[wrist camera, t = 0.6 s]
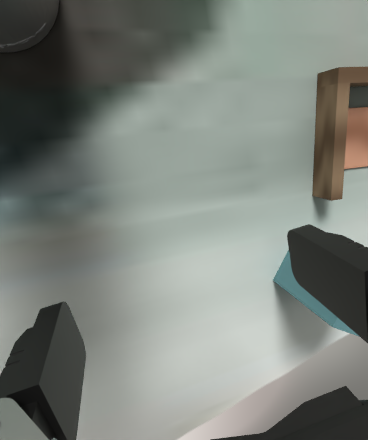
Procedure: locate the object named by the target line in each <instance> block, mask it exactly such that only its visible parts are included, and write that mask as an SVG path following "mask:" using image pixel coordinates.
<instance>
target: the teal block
mask: <svg viewBox="0 0 368 440" xmlns="http://www.w3.org/2000/svg"><path fill="white" fill-rule="evenodd" d="M273 281H275V282H276V283H277V284H278V285H280V286H281V287H282V288H283V289H285V290H286V291H287V292H289V293H290V294H291V295H292V296H294V297H295V298H296V299H297V300H299V301H300V302H301V303H303V304H304V305H305V306H306V307H308V308H309V309H310V310H311V311H313V312H314V313H315V314H316V315H318V316H319V317H320V318H322V319H323V320H324V321H325V322H327V323H328V324H329V325H330V326H332V327H334V328H337V329H339V330H342V331H345V332H348V333H351V334H354V335H357V334H356V333H355V332H354V331H353V330H352V329H350V328H349V327H348V326H347V325H346V324H345V323H343V322H342V321H341V320H340V319H339V318H338V317H336V316H335V315H334V314H333V313H332V312H331V311H329V310H328V309H327V308H326V307H325V306H323V305H322V304H321V303H320V302H319V301H318V300H316V299H315V298H314V297H313V296H312V295H311V294H309V293H308V292H307V291H306V290H305V289H304V288H302V287H301V286H300V285H299V284H298V283H297V281H296V279H295V278H294V275H293V272H292V268H291V261H290V253H289V250H288V252H287V254H286V256H285V258H284V260H283V262H282V264H281V266H280V268H279V270H278V272H277V273H276V275H275V277H274V279H273ZM357 336H359V335H357Z"/></svg>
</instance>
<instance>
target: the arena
mask: <svg viewBox="0 0 368 440" xmlns="http://www.w3.org/2000/svg"><path fill="white" fill-rule="evenodd" d="M357 86H368V67H339V68H335V69H332V70H328V71H325V72H321V73H318V81H317V104H316V128H315V151H314V174H313V196H316V197H320V198H323V199H327V200H338V199H342V193H343V179H344V169H348V168H357V167H365V166H368V107H360V108H348V106H349V92H350V87H357Z"/></svg>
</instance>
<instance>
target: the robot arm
mask: <svg viewBox="0 0 368 440" xmlns="http://www.w3.org/2000/svg"><path fill="white" fill-rule="evenodd" d="M58 8H59V0H0V52H2V53H3V52H18V51H22V50H25V49H29V48H30V47H32V46H34V45H36V44H38V43H39V42H40V41H41V40H42V39H43V38H44V37H45V36H46V35H48V33H49V31H50V30H51V28H52V27H53V25H54V23H55V20H56V17H57V14H58ZM287 238H288V246H289V253H290V261H291V268H292V272H293V275H294V278H295V279H296V281H297V283H298V284H299V285H300V286H301V287H302V288H304V289H305V290H306V291H307V292H308V293H309V294H311V295H312V296H313V297H314V298H315V299H316V300H318V301H319V302H320V303H321V304H322V305H323V306H325V307H326V308H327V309H328V310H329V311H331V312H332V313H333V314H334V315H335V316H336V317H338V318H339V319H340V320H341V321H342V322H343V323H345V324H346V325H347V326H348V327H349V328H350V329H352V330H353V331H354V332H355V333H356V334H357V335H359V336H360V337H361V338H362V339H363V340H365V341H366V342H367V343H368V247H364V245H361V244H359V243H357V242H354V241H353V240H351V239H349V238H347V237H345V236H343V235H338V234H333V233H328V232H327V233H326V232H324V231H322V230H320V229H318V228H316V227H314V226H312V225H310V224H308V225H305V226H302V227H299V228H296V229H292V230H290V231H289V232H288V235H287ZM85 360H86V353H85V346H84V342H83V339H82V337H81V335H80V332H79V330H78V327H77V325H76V323H75V320H74V318H73V316H72V313H71V311H70V308H69V306H68V305H67V303H66V302H61V303H58V304H55V305H51V306H48V307H45V308H42V309H40V311H39V314H38V316H37V319H36V321H35V324H34V326H33V327H32V328H29V329H27V330H26V331H25V332H24V333H23V334H22V335H21V336H20V338H19V339H18V340H17V341H16V342H15V344H14V347H13V349H12V351H11V353H10V357H9V358H8V360H7V362H6V364H5V366H6V367H5V368H4V369H3V371H2V373H1V375H0V440H76V436H77V428H78V419H79V411H80V402H81V394H82V385H83V377H84V368H85ZM211 440H368V400H358V399H357V398H356V397H355V396H354V395H353V394H352V392H351V391H350V390H349V389H348V388H347V387H346V386H344V387H342V388H339V389H337V390H334V391H332V392H329V393H327V394H324V395H322V396H319V397H317V398H314V399H312V400H309V401H307V402H304V403H303V404H301V405H300V406H299V407H298V408H297V409H295V410H294V411H292V412H291V413H290V414H288V415H287V416H286V417H285V418H283V419H282V420H281V421H279V422H278V423H277V424H276V425H274V426H273V427H272V428H271V429H269V430H268V431H266V432H264V433H260V434H252V435H244V436H237V437H228V438H220V439H211Z"/></svg>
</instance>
